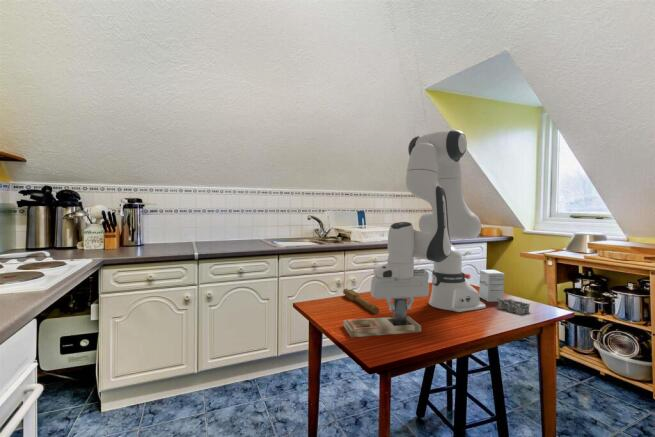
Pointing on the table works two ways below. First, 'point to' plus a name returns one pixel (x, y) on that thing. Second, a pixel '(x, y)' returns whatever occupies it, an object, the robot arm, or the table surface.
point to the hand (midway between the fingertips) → (399, 310)
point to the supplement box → (491, 285)
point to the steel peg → (399, 311)
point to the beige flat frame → (379, 326)
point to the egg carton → (514, 306)
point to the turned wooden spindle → (360, 300)
